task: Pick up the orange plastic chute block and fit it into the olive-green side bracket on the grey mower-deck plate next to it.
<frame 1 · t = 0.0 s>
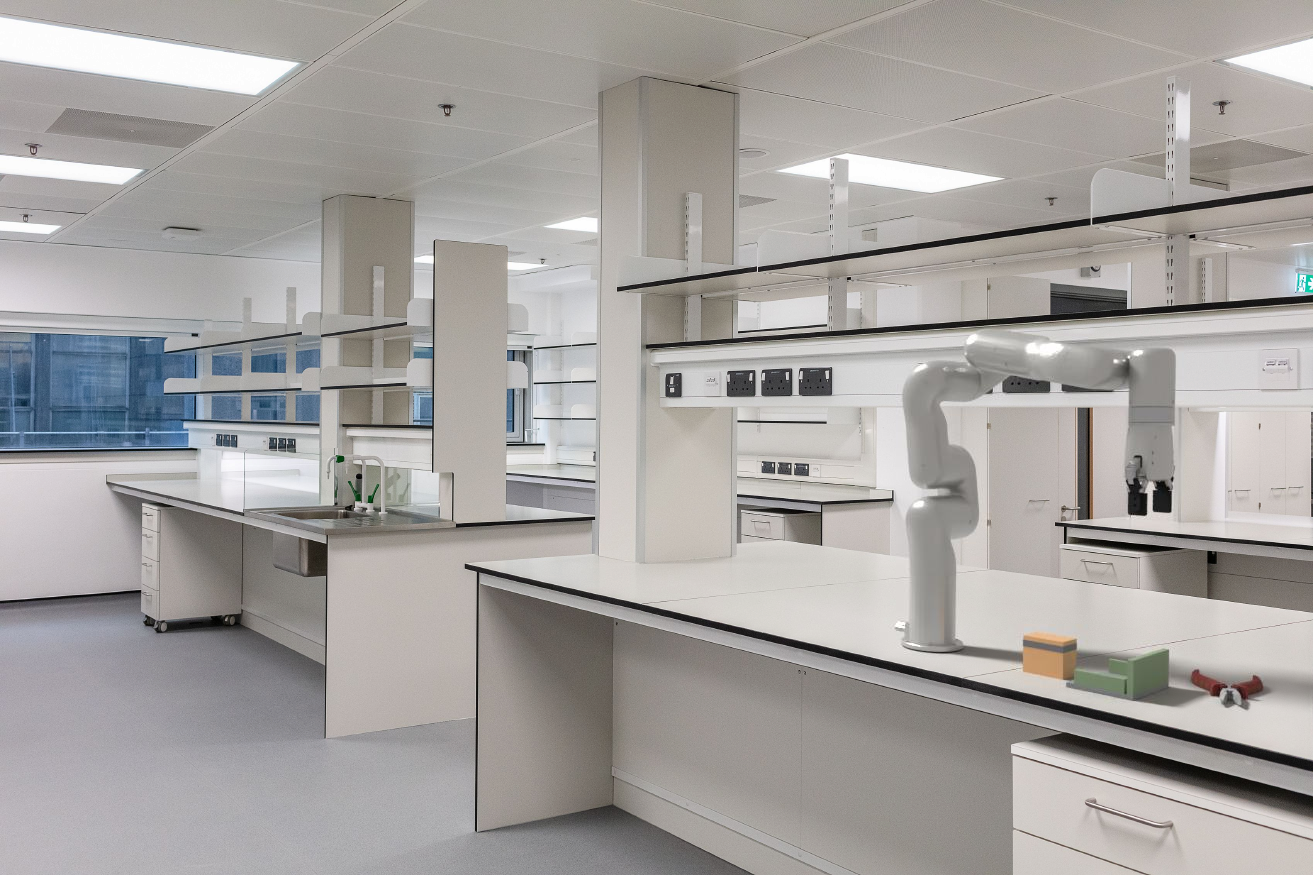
hand: (1149, 513, 187), 31 cm above the counter, tool pointing down, fingers open, 9 cm apart
chute block: (1049, 673, 199), on the counter
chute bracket: (1117, 686, 189), on the counter
pliers: (1218, 695, 186), on the counter
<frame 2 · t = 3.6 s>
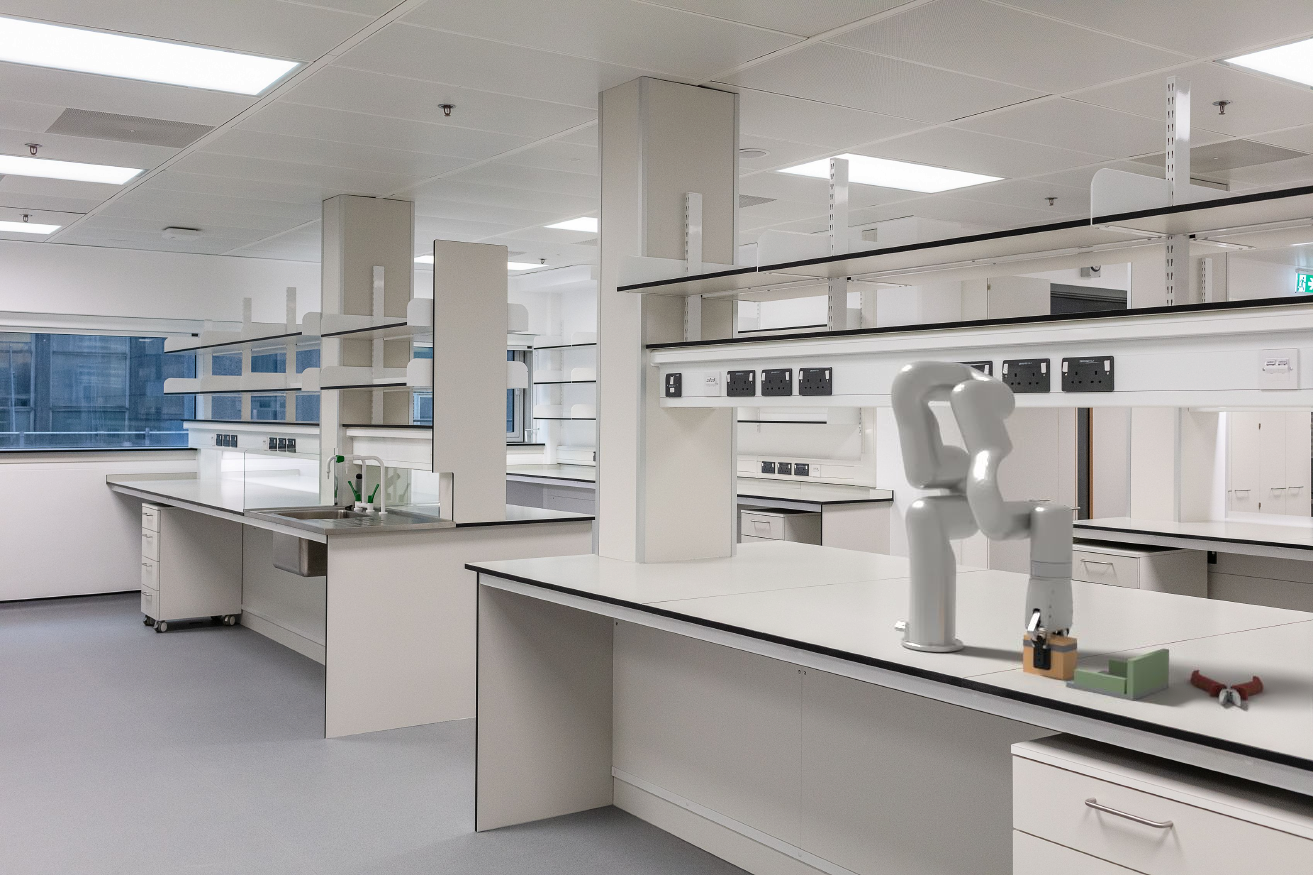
hand: (1049, 665, 199), 1 cm above the counter, tool pointing down, fingers closed on chute block, 5 cm apart
chute block: (1049, 673, 199), on the counter, touching gripper
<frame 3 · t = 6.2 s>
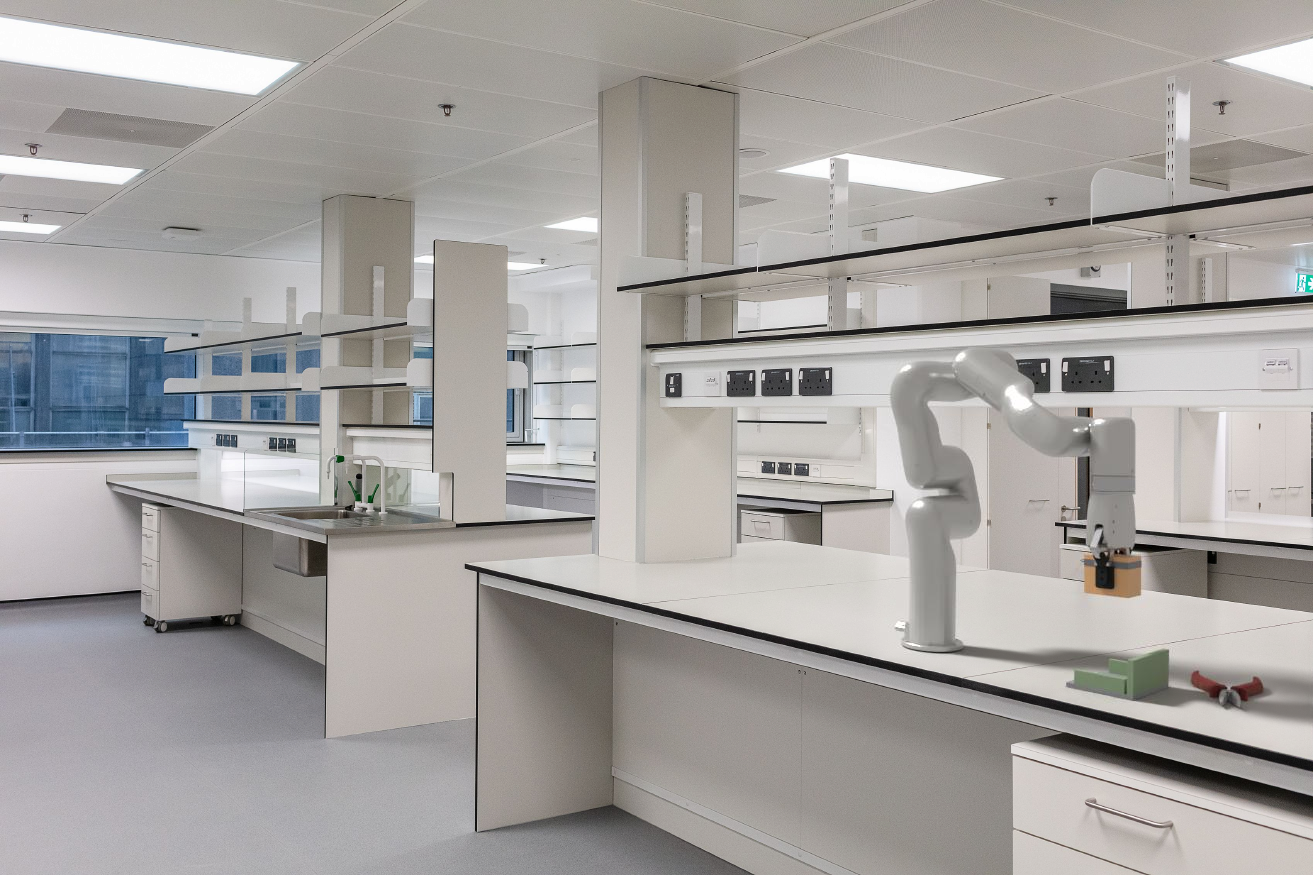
hand: (1112, 585, 190), 18 cm above the counter, tool pointing down, fingers closed on chute block, 5 cm apart
chute block: (1112, 593, 190), point 17 cm above the counter, touching gripper
when the fingers open (4 cm above the counter, at t = 9.3 s): chute block drops 2 cm, resting on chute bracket.
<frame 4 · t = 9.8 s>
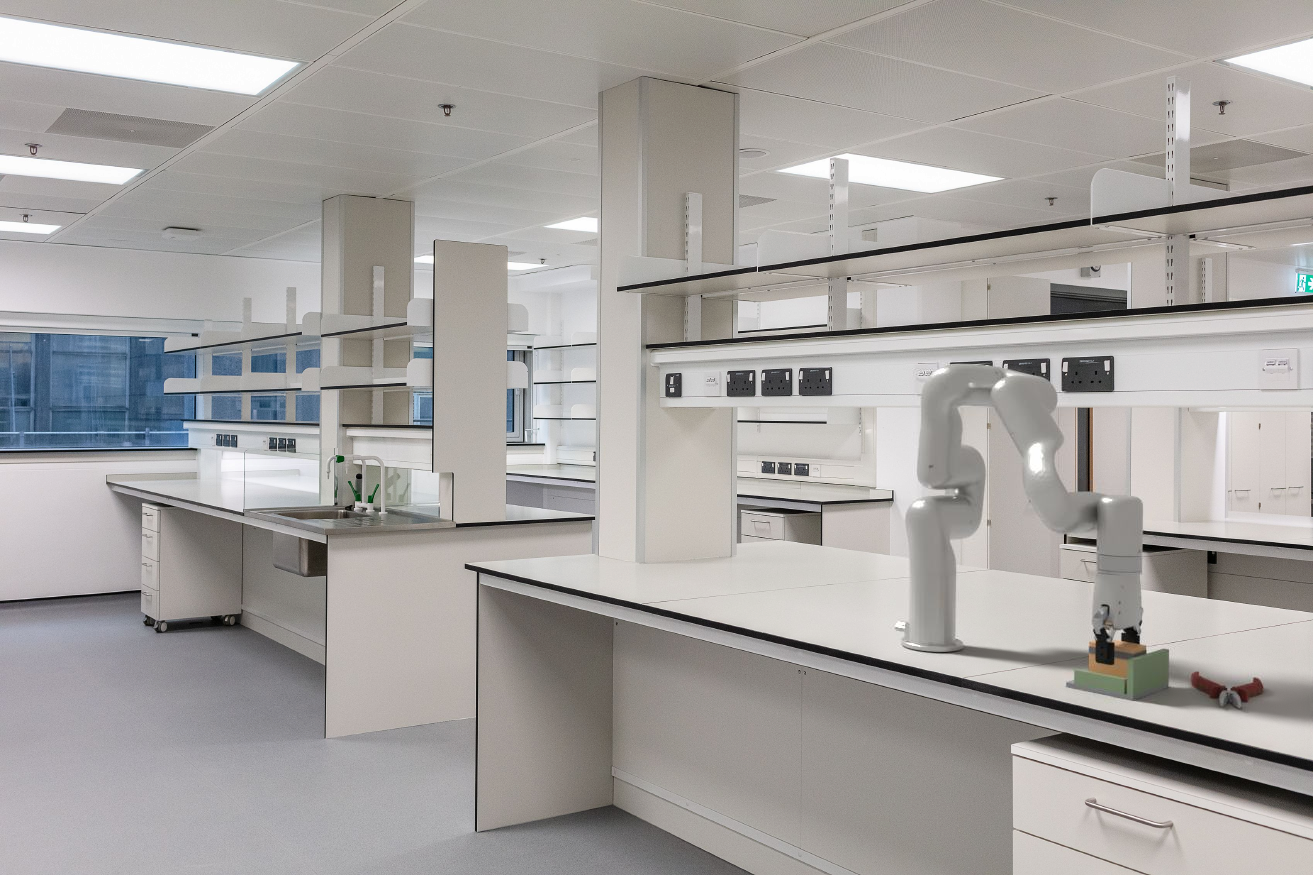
hand: (1117, 659, 189), 5 cm above the counter, tool pointing down, fingers open, 9 cm apart
chute block: (1117, 682, 189), point 1 cm above the counter, touching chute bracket
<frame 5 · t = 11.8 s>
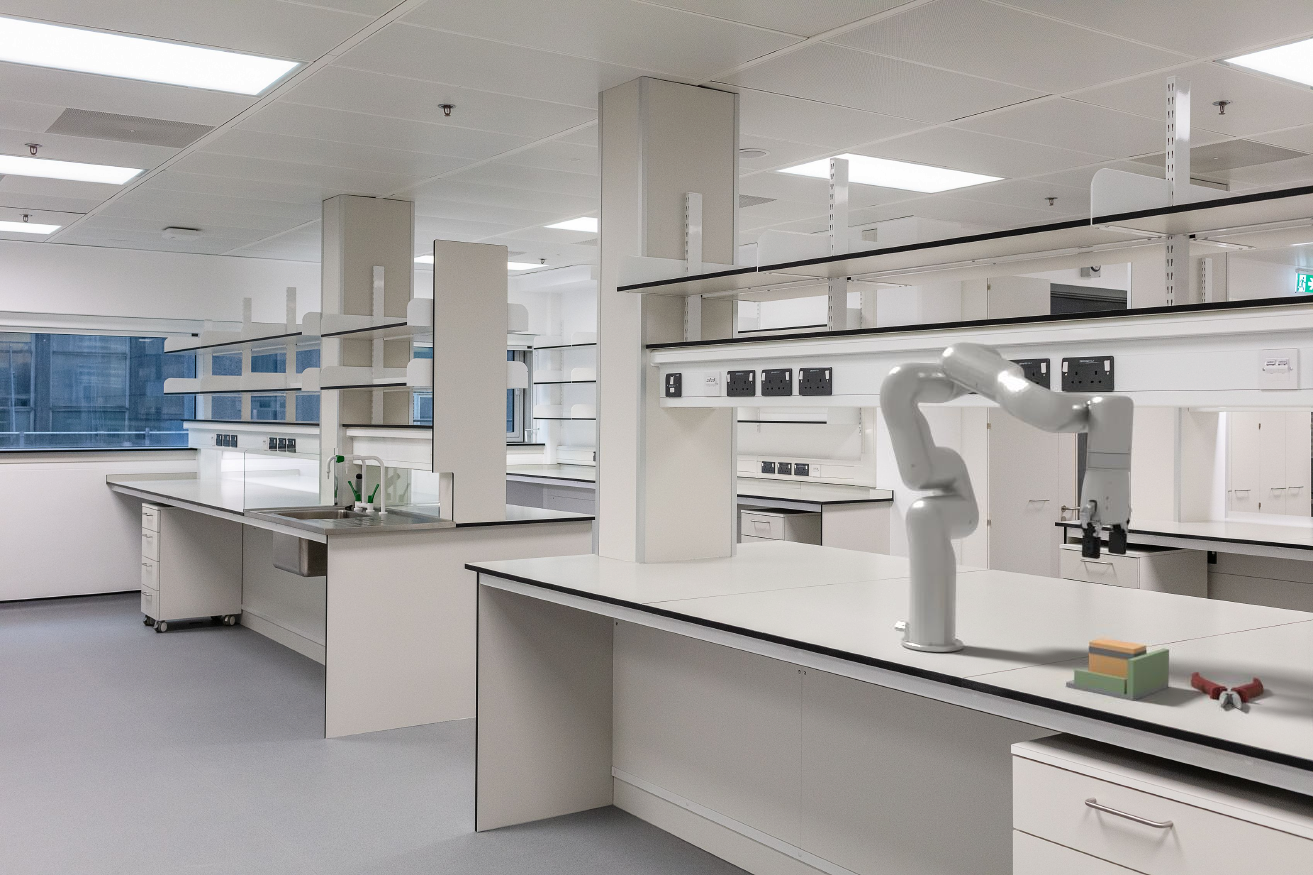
hand: (1104, 555, 193), 23 cm above the counter, tool pointing down, fingers open, 9 cm apart
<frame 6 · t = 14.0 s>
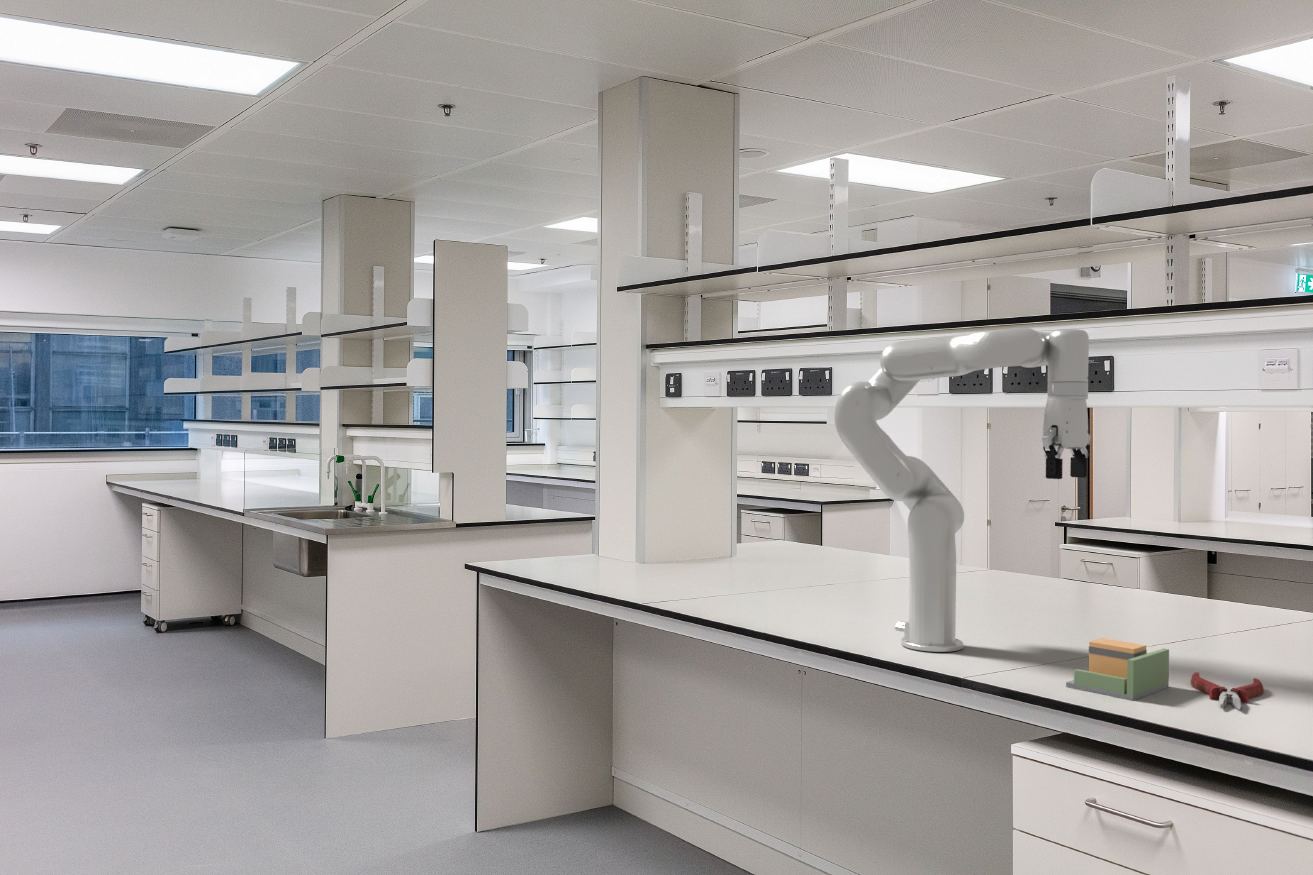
hand: (1066, 477, 210), 36 cm above the counter, tool pointing down, fingers open, 9 cm apart
at the end: chute block 0.1 cm off-centre on the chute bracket, point 0.8 cm above the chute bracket's base; chute block tilted 0°; the gripper is holding nothing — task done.
